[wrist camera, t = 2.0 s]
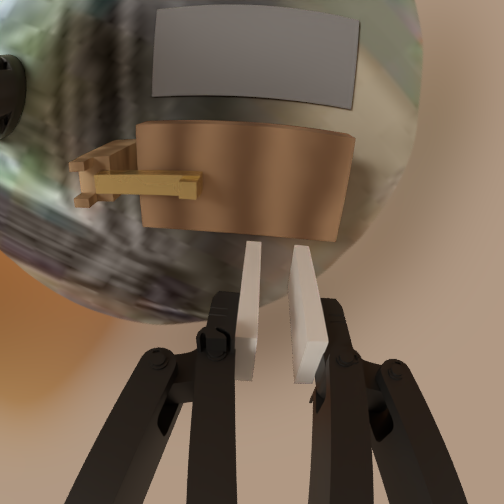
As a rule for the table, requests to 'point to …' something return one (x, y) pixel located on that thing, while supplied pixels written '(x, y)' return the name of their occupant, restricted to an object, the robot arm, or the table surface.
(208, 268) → the table surface
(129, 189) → the key
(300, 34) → the felt mat
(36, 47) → the table surface
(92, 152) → the toolbox
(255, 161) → the lid
